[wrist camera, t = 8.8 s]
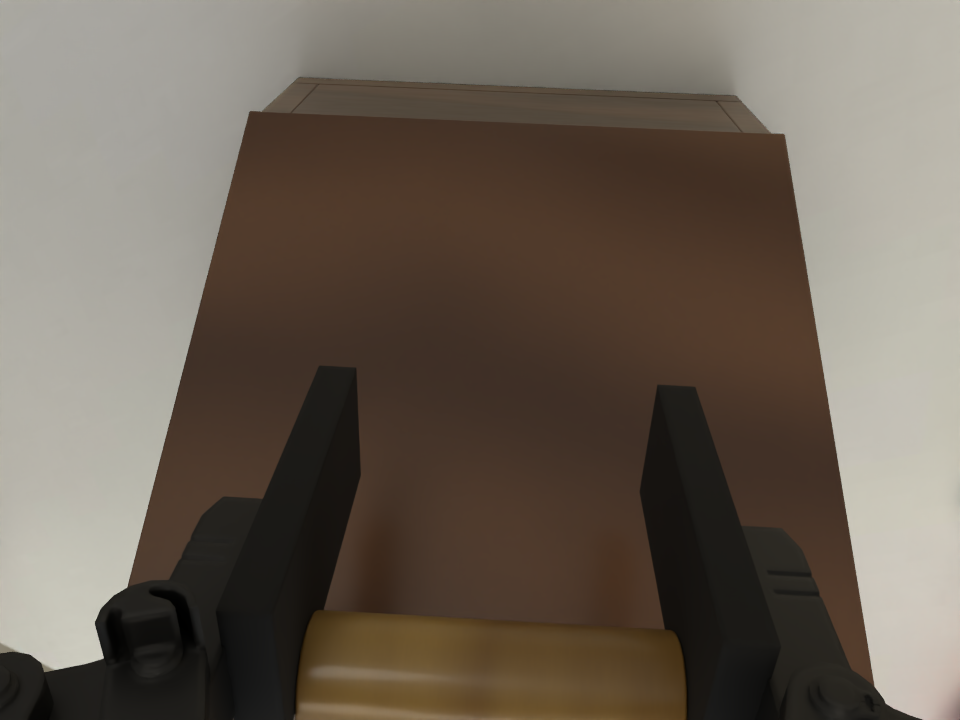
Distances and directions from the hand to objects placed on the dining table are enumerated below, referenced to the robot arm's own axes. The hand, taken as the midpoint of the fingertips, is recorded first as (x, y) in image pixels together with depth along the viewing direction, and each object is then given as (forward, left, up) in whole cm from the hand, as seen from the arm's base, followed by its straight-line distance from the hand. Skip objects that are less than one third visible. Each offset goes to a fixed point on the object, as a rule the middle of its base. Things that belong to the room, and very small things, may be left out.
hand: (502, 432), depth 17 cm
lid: (+2, -1, -4) cm, 5 cm away
